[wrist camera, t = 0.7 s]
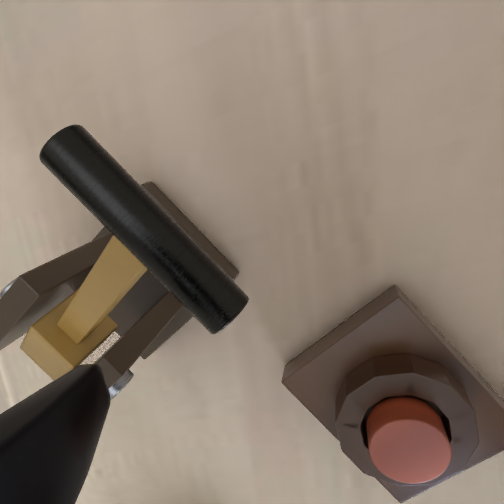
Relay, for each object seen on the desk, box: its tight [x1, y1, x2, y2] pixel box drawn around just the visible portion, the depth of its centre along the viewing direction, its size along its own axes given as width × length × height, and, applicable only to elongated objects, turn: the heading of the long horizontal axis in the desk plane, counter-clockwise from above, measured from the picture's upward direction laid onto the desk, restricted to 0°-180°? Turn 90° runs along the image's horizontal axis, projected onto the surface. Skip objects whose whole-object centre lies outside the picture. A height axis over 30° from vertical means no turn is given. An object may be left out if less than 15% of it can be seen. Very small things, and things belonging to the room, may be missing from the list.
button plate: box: [281, 285, 504, 503], centre depth 22 cm, size 10×8×4 cm
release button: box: [366, 396, 451, 484], centre depth 20 cm, size 4×4×2 cm
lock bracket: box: [0, 182, 239, 400], centre depth 20 cm, size 8×7×10 cm
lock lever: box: [20, 125, 249, 381], centre depth 14 cm, size 11×6×2 cm, turn 135°
